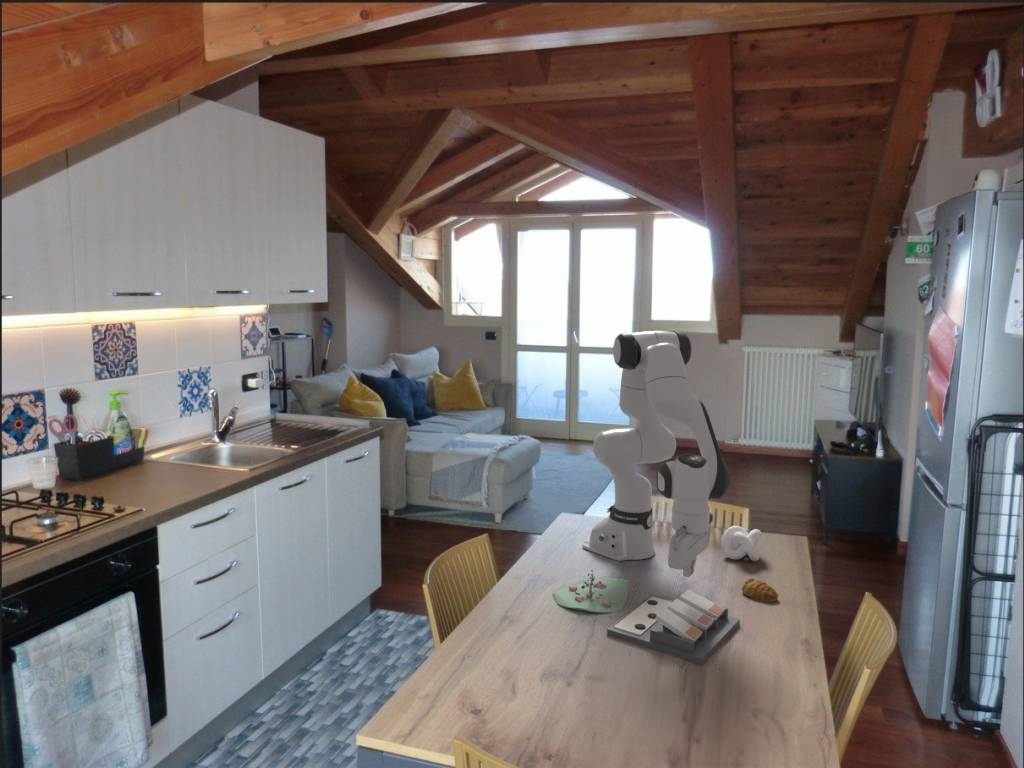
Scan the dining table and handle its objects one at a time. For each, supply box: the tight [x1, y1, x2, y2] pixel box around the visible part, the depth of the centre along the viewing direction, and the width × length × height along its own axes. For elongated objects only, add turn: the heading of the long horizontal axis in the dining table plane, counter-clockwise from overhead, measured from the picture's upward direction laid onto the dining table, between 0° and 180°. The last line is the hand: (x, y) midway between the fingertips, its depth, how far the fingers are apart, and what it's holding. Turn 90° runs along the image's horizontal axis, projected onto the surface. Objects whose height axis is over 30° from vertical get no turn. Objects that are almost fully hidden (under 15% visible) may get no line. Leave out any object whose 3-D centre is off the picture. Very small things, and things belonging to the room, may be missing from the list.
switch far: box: [678, 588, 725, 619], centre depth 192 cm, size 10×5×1 cm, turn 55°
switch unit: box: [606, 594, 741, 666], centre depth 189 cm, size 24×24×4 cm
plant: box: [552, 569, 629, 614], centre depth 209 cm, size 25×21×9 cm
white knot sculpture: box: [721, 525, 762, 562], centre depth 234 cm, size 11×12×9 cm
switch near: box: [655, 608, 702, 641], centre depth 181 cm, size 10×5×1 cm, turn 55°
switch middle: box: [668, 598, 714, 630], centre depth 187 cm, size 10×5×1 cm, turn 55°
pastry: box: [741, 577, 779, 603], centre depth 209 cm, size 9×7×4 cm
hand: (688, 574), depth 193 cm, fingers closed
